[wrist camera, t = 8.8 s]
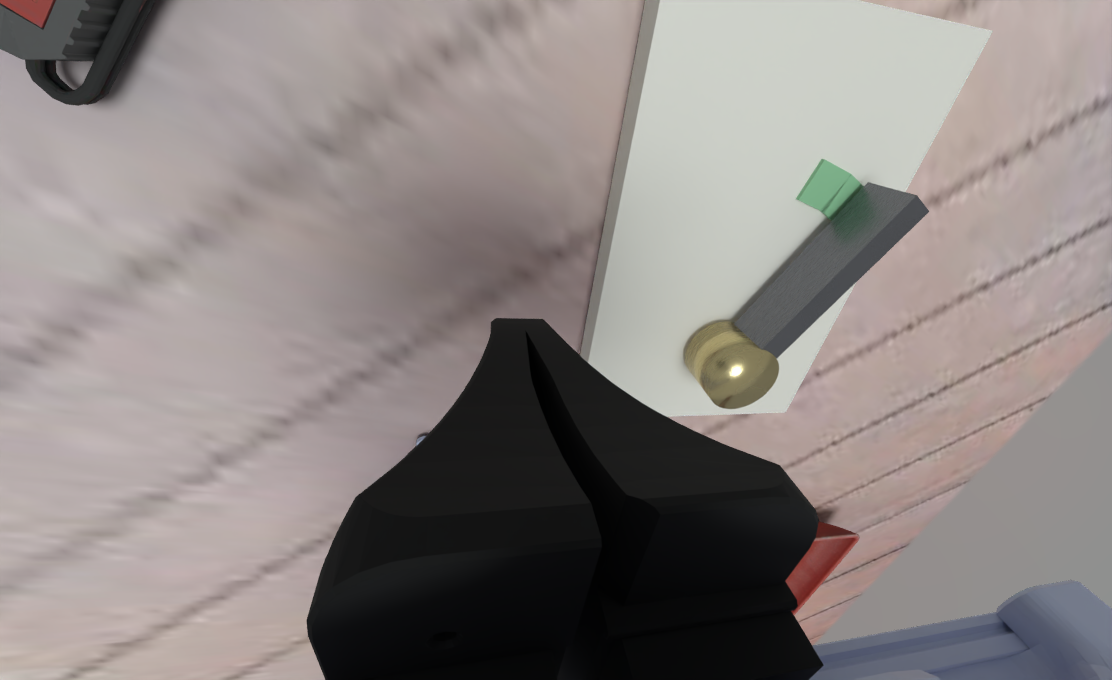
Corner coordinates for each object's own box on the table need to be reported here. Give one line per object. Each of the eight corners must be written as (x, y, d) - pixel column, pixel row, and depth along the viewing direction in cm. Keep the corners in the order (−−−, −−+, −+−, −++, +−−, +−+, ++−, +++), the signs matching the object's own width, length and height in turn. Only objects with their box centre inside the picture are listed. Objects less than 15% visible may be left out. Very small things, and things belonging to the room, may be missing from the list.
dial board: (771, 397, 28) (787, 414, 27) (571, 402, 25) (577, 422, 24) (955, 33, 18) (998, 30, 16) (651, -34, 15) (671, -45, 13)
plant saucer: (611, 624, 43) (620, 661, 41) (653, 517, 34) (669, 556, 31) (760, 602, 47) (779, 635, 45) (836, 500, 38) (864, 534, 35)
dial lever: (714, 385, 24) (740, 417, 22) (671, 361, 22) (694, 394, 20) (888, 209, 20) (943, 227, 17) (851, 165, 18) (905, 178, 16)
